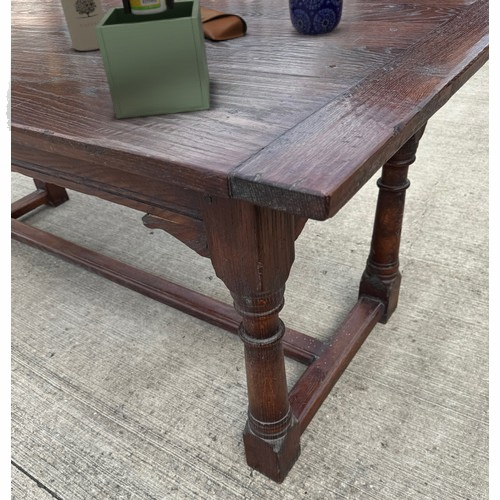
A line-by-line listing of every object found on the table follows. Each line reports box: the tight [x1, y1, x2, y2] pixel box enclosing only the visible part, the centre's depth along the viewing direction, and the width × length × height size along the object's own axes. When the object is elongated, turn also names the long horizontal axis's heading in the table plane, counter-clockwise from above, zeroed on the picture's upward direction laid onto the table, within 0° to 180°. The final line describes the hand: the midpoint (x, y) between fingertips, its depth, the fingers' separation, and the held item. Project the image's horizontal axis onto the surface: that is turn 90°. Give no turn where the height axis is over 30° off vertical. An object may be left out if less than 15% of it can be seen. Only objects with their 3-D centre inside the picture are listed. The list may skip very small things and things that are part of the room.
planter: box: [288, 0, 344, 36], centre depth 102 cm, size 11×11×11 cm
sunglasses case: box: [200, 5, 248, 41], centre depth 112 cm, size 18×7×7 cm
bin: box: [95, 0, 211, 120], centre depth 76 cm, size 14×14×12 cm
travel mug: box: [59, 0, 105, 52], centre depth 106 cm, size 8×8×18 cm
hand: (150, 9), depth 72 cm, fingers closed on supplement bottle, 5 cm apart
